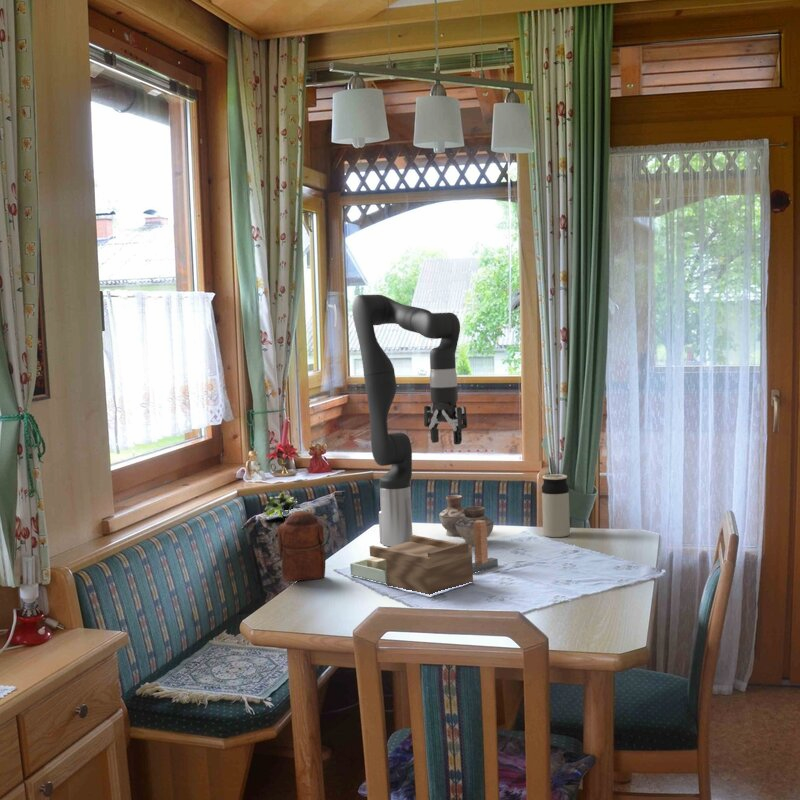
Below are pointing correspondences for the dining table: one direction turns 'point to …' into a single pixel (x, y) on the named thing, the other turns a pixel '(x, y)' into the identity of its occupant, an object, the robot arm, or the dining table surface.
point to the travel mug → (555, 506)
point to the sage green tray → (368, 571)
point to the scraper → (482, 548)
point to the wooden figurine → (301, 547)
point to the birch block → (377, 563)
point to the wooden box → (426, 564)
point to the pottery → (463, 519)
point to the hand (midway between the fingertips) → (446, 443)
